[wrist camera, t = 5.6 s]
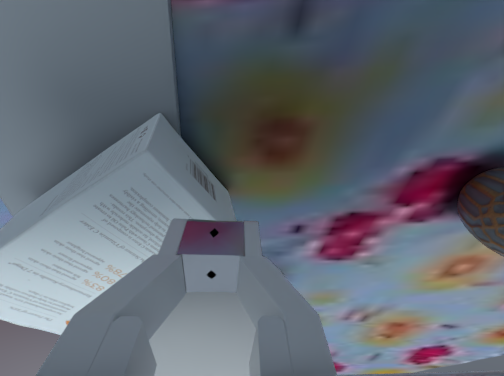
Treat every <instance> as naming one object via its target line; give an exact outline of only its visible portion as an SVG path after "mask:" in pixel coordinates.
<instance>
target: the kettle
mask: <svg viewBox="0 0 504 376" xmlns="http://www.w3.org/2000/svg"><path fill="white" fill-rule="evenodd" d="M262 257H264V256H262ZM273 265H274V264H273ZM274 266H275V265H274ZM275 267H276V266H275ZM276 268H277V267H276ZM277 269H278V268H277ZM278 270H279V269H278ZM279 271H280V270H279ZM280 272H281V271H280ZM281 273H282V272H281ZM282 275H283V273H282ZM283 276H284V275H283ZM284 277H285V276H284ZM255 332H256V328H255V326H254V324H253V322H252V321H251V319H250V317H249V315H248V313H247V312H246V310H245V308H244V306H243V305H242V303H241V301H240V299H239V297H238V296H237V293H228V292H186V295H185V296H184V297H183V298H182V300H181V301H180V302H179V303H178V305H177V306H176V307H175V308H174V310H173V311H172V312H171V313H170V315H169V316H168V317H167V318H166V320H165V321H164V322H163V323H162V325H161V326H160V327H159V328H158V330H157V331H156V332H155V333H154V335H153V336H152V337H151V338H150V340H149V343H150V346H151V349H152V352H153V355H154V358H155V361H156V364H157V366H156V371H155V375H154V376H250V374H249V361H250V356H251V352H252V347H253V342H254V337H255Z"/></svg>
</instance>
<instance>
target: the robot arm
mask: <svg viewBox="0 0 504 376" xmlns="http://www.w3.org/2000/svg"><path fill="white" fill-rule="evenodd" d="M186 292H228V293H237V296H238V297H239V299H240V301H241V303H242V305H243V306H244V308H245V310H246V312H247V313H248V315H249V317H250V319H251V321H252V322H253V324H254V326H255V328H256V332H255V337H254V342H253V347H252V352H251V356H250V361H249V374H250V376H504V371H474V372H438V373H400V374H363V375H337V374H336V370H335V367H334V364H333V360H332V357H331V354H330V350H329V347H328V344H327V340H326V337H325V334H324V330H323V327H322V324H321V320H320V317H319V314H318V313H317V312H316V311H315V310H314V309H313V308H312V307H311V305H310V304H309V303H308V302H307V301H306V300H305V299H304V298H303V297H302V296H301V294H300V293H299V292H298V291H297V290H296V289H295V288H294V287H293V286H292V284H291V283H290V282H289V281H288V280H287V279H286V278H285V277H284V276H283V275H282V273H281V272H280V271H279V270H278V269H277V268H276V267H275V266H274V265H273V263H272V262H271V261H270V260H269V259H268V258H267V257H262V250H261V241H260V232H259V223H258V222H257V221H244V222H243V221H216V220H199V219H177V218H174V219H173V220H172V221H171V223H170V225H169V228H168V230H167V233H166V235H165V238H164V240H163V243H162V245H161V248H160V250H159V253H158V255H152V256H150V257H149V258H148V259H146V260H145V261H144V262H142V263H141V264H140V265H138V266H137V267H136V268H135V269H133V270H132V271H131V272H129V273H128V274H127V275H125V276H124V277H123V278H121V279H120V280H119V281H117V282H116V283H115V284H113V285H112V286H111V287H110V288H108V289H107V290H106V291H104V292H103V293H102V294H100V295H99V296H98V297H96V298H95V299H94V300H92V301H91V302H90V303H88V304H87V305H86V306H85V307H83V308H82V309H81V310H79V311H78V312H77V313H75V314H74V315H73V317H72V319H71V320H70V322H69V323H68V325H67V327H66V328H65V330H64V331H63V333H62V335H61V336H60V338H59V339H58V341H57V343H56V344H55V346H54V347H53V349H52V351H51V352H50V354H49V355H48V357H47V358H46V360H45V362H44V363H43V365H42V366H41V368H40V370H39V371H38V373H37V374H36V376H154V375H155V371H156V366H157V364H156V361H155V358H154V355H153V352H152V349H151V346H150V343H149V340H150V338H151V337H152V336H153V335H154V333H155V332H156V331H157V330H158V328H159V327H160V326H161V325H162V323H163V322H164V321H165V320H166V318H167V317H168V316H169V315H170V313H171V312H172V311H173V310H174V308H175V307H176V306H177V305H178V303H179V302H180V301H181V300H182V298H183V297H184V296H185V295H186Z"/></svg>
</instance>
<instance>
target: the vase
mask: <svg viewBox="0 0 504 376" xmlns="http://www.w3.org/2000/svg"><path fill="white" fill-rule="evenodd" d="M457 208H458V214H459V216H460V219H461V221H462V222H463V224H464V226H465V227H466V228H467V229H468V231H469V232H470V233H471V234H472V235H473V236H474V237H475V238H476V239H478V240H479V241H480V242H481V243H482V244H484V245H485V246H486V247H488V248H489V249H491V250H492V251H494V252H496V253H498V254H500V255H501V256H504V167H500V168H496V169H492V170H488V171H485V172H483V173H481V174H479V175H477V176H475V177H474V178H472V179H471V180H470V181H469V182H468V183H467V184H466V185H465V186H464V187H463V188H462V190H461V192H460V194H459V197H458V204H457Z"/></svg>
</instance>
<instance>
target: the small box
mask: <svg viewBox="0 0 504 376" xmlns="http://www.w3.org/2000/svg"><path fill="white" fill-rule="evenodd" d="M174 218H177V219H199V220H216V221H236V218H235V214H234V211H233V207H232V203H231V199H230V195H229V192H228V191H227V189H226V188H225V187H224V186H223V185H222V184H221V183H220V182H219V181H218V180H217V179H216V177H215V176H214V175H213V174H212V173H211V172H210V170H209V169H208V168H207V167H206V166H205V165H204V163H203V162H202V161H201V160H200V159H199V158H198V157H197V155H196V154H195V153H194V152H193V151H192V150H191V149H190V147H189V146H188V145H187V144H186V143H185V142H184V140H183V139H182V138H181V137H180V136H179V135H178V133H177V132H176V131H175V130H174V129H173V127H172V126H171V125H170V124H169V122H168V121H167V120H166V118H165V117H164V116H163V115H162V114H161V113H158V114H156V115H155V116H154V117H152V118H151V119H149V120H148V121H146V122H145V123H144V124H142V125H141V126H139V127H138V128H136V129H135V130H134V131H132V132H131V133H129V134H128V135H126V136H125V137H124V138H122V139H121V140H119V141H118V142H116V143H115V144H113V145H112V146H110V147H109V148H108V149H106V150H105V151H103V152H102V153H100V154H99V155H98V156H96V157H95V158H94V159H92V160H91V161H89V162H88V163H87V164H85V165H84V166H82V167H81V168H80V169H78V170H77V171H75V172H74V173H73V174H71V175H70V176H68V177H67V178H65V179H64V180H63V181H61V182H60V183H58V184H57V185H56V186H54V187H53V188H51V189H50V190H49V191H47V192H46V193H44V194H43V195H41V196H40V197H39V198H37V199H36V200H34V201H33V202H32V203H30V204H29V205H28V206H26V207H25V208H23V209H22V210H21V211H19V212H18V213H17V214H16V215H14V216H13V217H12V218H11V219H10V220H9V221H8V222H7V223H6V224H5V225H4V226H3V227H2V228H1V229H0V319H1V320H5V321H8V322H11V323H14V324H17V325H21V326H26V327H31V328H35V329H40V330H44V331H48V332H52V333H55V334H59V335H62V333H63V331H64V330H65V328H66V327H67V325H68V323H69V322H70V320H71V319H72V317H73V315H74V314H75V313H77V312H78V311H79V310H81V309H82V308H83V307H85V306H86V305H87V304H88V303H90V302H91V301H92V300H94V299H95V298H96V297H98V296H99V295H100V294H102V293H103V292H104V291H106V290H107V289H108V288H110V287H111V286H112V285H113V284H115V283H116V282H117V281H119V280H120V279H121V278H123V277H124V276H125V275H127V274H128V273H129V272H131V271H132V270H133V269H135V268H136V267H137V266H138V265H140V264H141V263H142V262H144V261H145V260H146V259H148V258H149V257H150V256H152V255H158V253H159V250H160V248H161V245H162V243H163V240H164V238H165V235H166V233H167V230H168V228H169V225H170V223H171V221H172V220H173V219H174Z"/></svg>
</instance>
